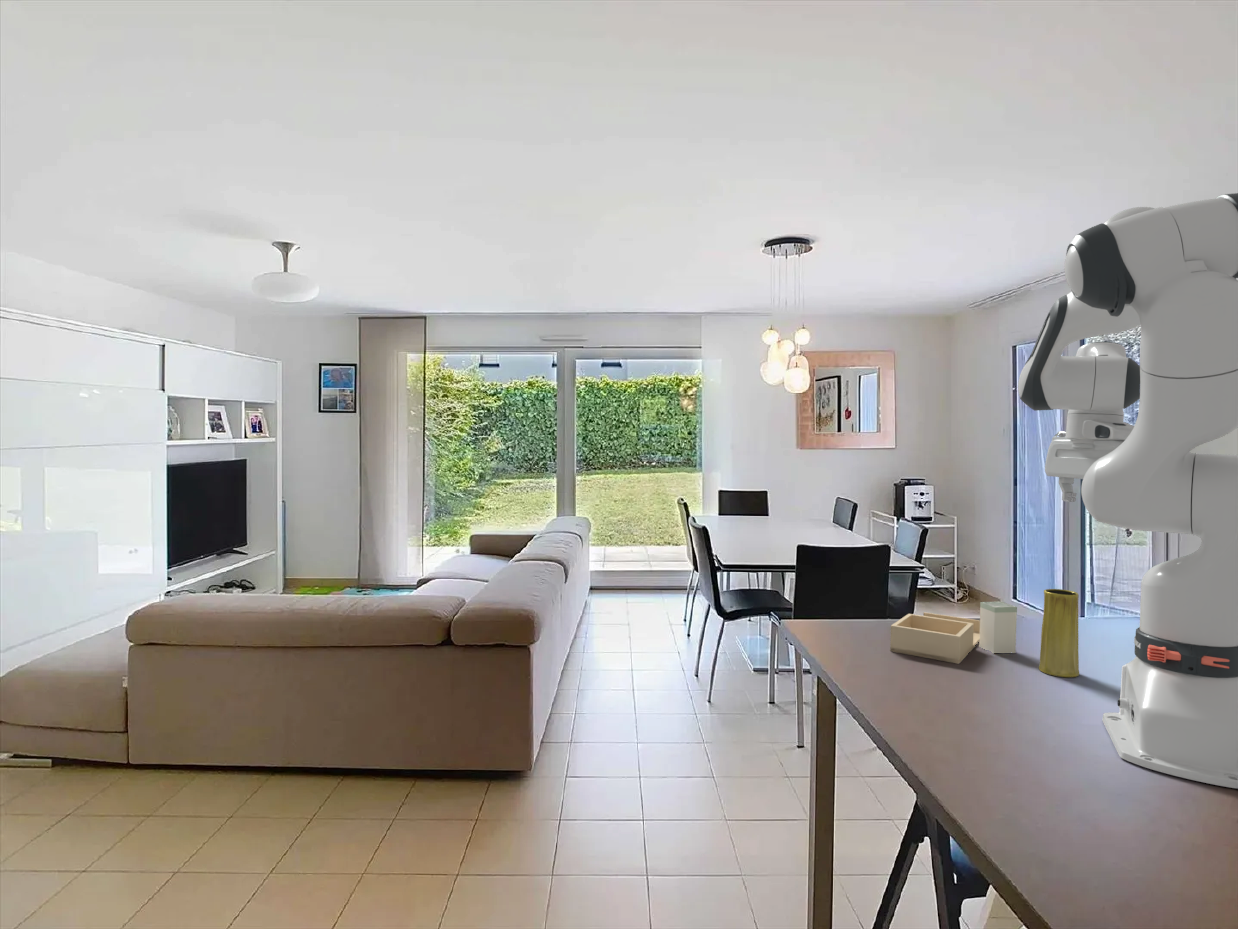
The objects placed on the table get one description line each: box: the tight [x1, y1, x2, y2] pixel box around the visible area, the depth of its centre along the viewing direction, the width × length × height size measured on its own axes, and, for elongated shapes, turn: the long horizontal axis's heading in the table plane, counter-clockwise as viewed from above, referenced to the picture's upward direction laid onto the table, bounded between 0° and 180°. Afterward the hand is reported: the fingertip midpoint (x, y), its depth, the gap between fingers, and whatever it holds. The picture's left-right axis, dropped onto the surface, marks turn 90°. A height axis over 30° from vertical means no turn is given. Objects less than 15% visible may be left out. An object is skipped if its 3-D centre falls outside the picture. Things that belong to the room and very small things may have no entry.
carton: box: [978, 601, 1018, 654], centre depth 137 cm, size 4×4×9 cm
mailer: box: [889, 611, 980, 665], centre depth 142 cm, size 24×12×5 cm, turn 143°
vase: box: [1038, 588, 1080, 679], centre depth 124 cm, size 6×6×14 cm
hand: (1087, 504), depth 133 cm, fingers open, 8 cm apart
